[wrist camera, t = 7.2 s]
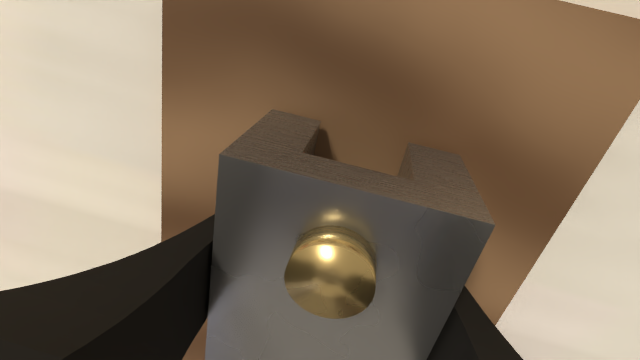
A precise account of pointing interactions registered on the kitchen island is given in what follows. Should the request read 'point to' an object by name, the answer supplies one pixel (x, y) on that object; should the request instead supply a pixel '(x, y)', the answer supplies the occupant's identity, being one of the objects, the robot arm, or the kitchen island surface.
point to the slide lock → (336, 249)
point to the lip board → (405, 102)
